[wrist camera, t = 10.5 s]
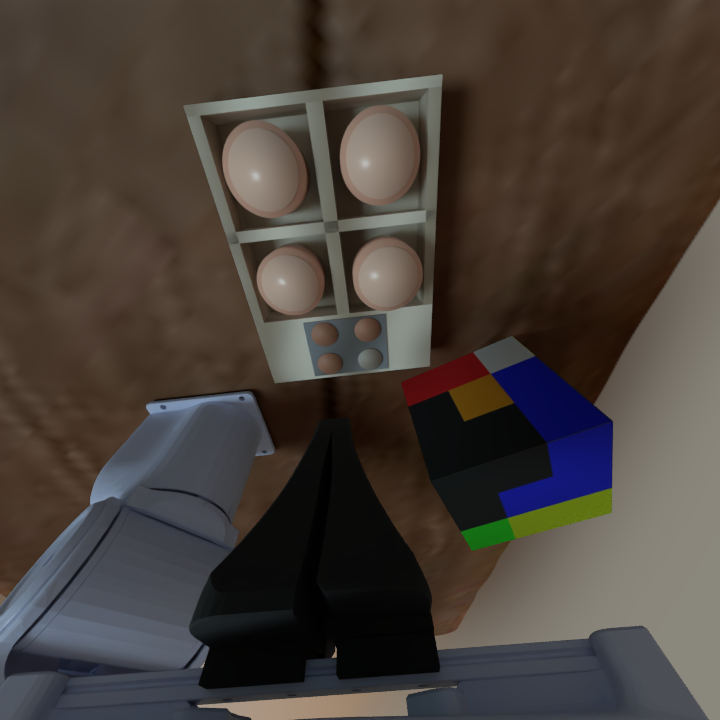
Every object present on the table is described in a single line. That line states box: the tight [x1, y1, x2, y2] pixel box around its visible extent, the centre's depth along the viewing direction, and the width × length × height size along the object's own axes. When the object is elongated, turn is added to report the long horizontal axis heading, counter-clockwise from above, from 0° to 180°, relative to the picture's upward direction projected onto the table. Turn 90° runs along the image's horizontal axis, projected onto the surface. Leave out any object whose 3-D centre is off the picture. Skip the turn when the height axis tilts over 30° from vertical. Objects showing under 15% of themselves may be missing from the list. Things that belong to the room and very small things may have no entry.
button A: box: [257, 243, 326, 315], centre depth 17 cm, size 4×4×2 cm
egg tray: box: [184, 74, 442, 383], centre depth 18 cm, size 12×16×3 cm
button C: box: [222, 120, 310, 218], centre depth 14 cm, size 4×4×2 cm
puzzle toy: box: [401, 336, 613, 551], centre depth 22 cm, size 10×10×10 cm
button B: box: [352, 235, 423, 311], centre depth 16 cm, size 4×4×2 cm
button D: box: [340, 105, 420, 206], centre depth 14 cm, size 4×4×2 cm
